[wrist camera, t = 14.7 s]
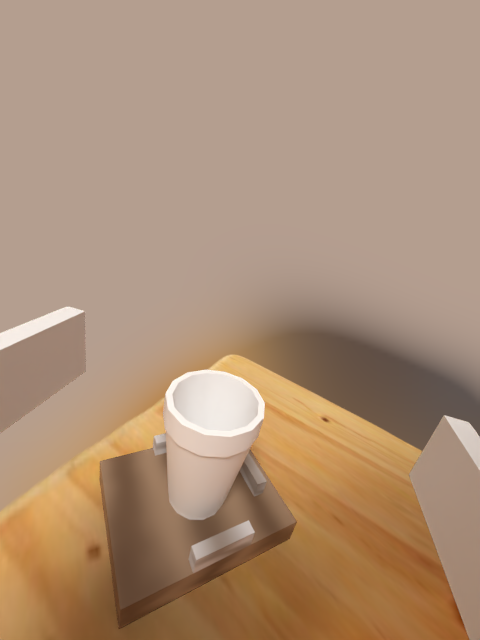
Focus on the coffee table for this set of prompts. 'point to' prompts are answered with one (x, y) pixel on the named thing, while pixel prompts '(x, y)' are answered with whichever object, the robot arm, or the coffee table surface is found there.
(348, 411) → the coffee table surface
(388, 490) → the coffee table surface
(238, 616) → the coffee table surface
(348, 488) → the coffee table surface
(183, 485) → the foam cup
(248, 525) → the shelf
